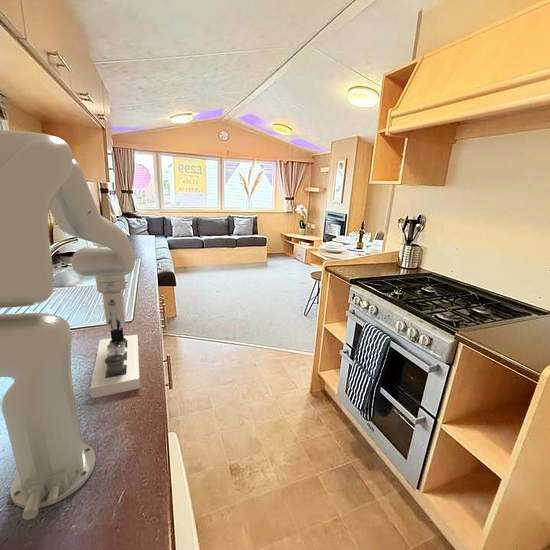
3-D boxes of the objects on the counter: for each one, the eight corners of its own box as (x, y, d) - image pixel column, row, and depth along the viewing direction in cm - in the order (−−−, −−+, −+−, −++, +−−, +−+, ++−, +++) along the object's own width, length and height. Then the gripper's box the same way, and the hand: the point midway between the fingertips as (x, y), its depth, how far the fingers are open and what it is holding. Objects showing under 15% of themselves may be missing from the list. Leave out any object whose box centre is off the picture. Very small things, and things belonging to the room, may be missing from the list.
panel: (140, 388, 80) (139, 378, 79) (91, 398, 75) (90, 388, 74) (138, 342, 102) (137, 334, 101) (101, 348, 98) (99, 339, 97)
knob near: (125, 374, 80) (124, 361, 79) (106, 378, 78) (104, 365, 77) (126, 365, 84) (124, 352, 83) (107, 369, 82) (105, 356, 81)
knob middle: (126, 360, 87) (124, 347, 86) (108, 363, 85) (106, 350, 84) (126, 352, 91) (125, 340, 90) (109, 355, 89) (107, 343, 88)
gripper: (124, 291, 84) (131, 350, 89) (125, 276, 97) (131, 328, 102) (93, 294, 81) (102, 355, 86) (99, 278, 94) (106, 332, 99)
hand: (117, 340), depth 94 cm, fingers closed
